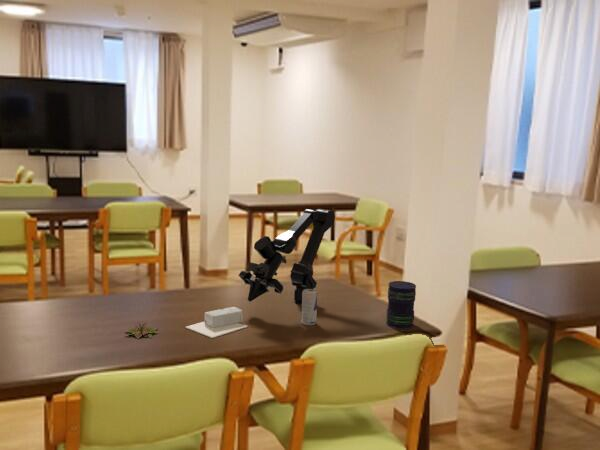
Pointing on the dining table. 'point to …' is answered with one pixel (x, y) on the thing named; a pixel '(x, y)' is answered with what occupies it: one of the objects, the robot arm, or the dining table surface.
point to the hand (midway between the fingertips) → (248, 300)
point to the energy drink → (309, 306)
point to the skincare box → (223, 317)
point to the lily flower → (141, 330)
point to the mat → (215, 329)
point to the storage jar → (401, 304)
